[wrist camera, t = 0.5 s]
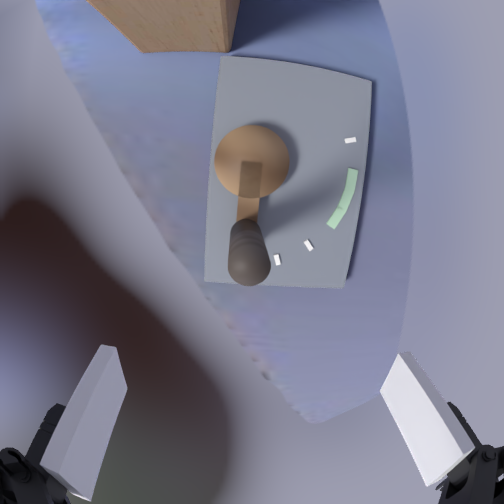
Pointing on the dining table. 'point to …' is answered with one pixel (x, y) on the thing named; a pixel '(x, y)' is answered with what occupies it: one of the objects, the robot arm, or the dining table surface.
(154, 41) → the wooden block
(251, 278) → the dial
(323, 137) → the board
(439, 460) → the robot arm
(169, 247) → the dining table surface
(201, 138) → the dining table surface
